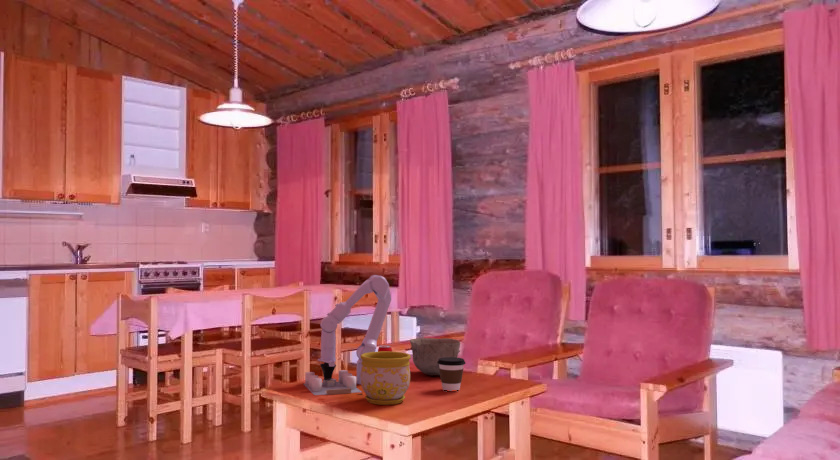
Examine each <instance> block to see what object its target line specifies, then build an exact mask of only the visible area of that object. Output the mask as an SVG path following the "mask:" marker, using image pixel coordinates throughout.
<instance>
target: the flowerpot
mask: <svg viewBox="0 0 840 460" xmlns="http://www.w3.org/2000/svg"><path fill="white" fill-rule="evenodd" d="M411 358H412V356H411V354H410V353H407V352H400V351H392V352H390V351H380V352H378V351H375V352H368V353H364V354H362V355H361V359H362V363H361V364H362V368H361V384H360V385H361V389H362V390H363V392H364V394H365V397H364V398H365V399H366V401H367V402H368V403H369V404H373V405H381V406H390V405H391V406H392V405H397V404H400V403H402V402H403V401H404V399H405V398H406V396H405V394H406V392H407V391H408V389H409V388H410V387H409V386H410V384H411V369H410V364H411V363H410V360H411Z"/></svg>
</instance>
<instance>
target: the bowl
mask: <svg viewBox="0 0 840 460" xmlns="http://www.w3.org/2000/svg"><path fill="white" fill-rule="evenodd" d="M409 343H410V346H411V347H410V349H411V353H412V362H413V364H414V367H416V369H417V370H418V371H420V372H421V373H423V374H425V375H428V376H433V375H438V376H440V371H439V364H438V363H437V361H438V359H439V358H444V357H457V358H458V356H459V355H458V354H459V353H460V352H461V351H460V347H461V341H460V340H458V339H453V338H431V337H428V338H426V337H424V338H423V337H422V338H412V339H409Z"/></svg>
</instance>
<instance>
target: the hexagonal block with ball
mask: <svg viewBox="0 0 840 460" xmlns="http://www.w3.org/2000/svg"><path fill="white" fill-rule="evenodd" d="M336 382H337V378H334V377H333V378H325V379H324V378H323V379H322V383H323V386H324V387H335V386H336Z"/></svg>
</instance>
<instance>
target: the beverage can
mask: <svg viewBox="0 0 840 460" xmlns="http://www.w3.org/2000/svg"><path fill="white" fill-rule="evenodd" d="M380 351H390V352H393V349H392V346H391V345H385V344H384V345H379V346H378V349H377V352H380Z"/></svg>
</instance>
